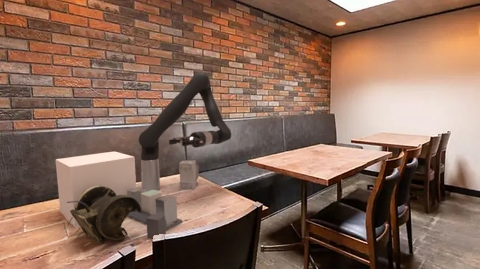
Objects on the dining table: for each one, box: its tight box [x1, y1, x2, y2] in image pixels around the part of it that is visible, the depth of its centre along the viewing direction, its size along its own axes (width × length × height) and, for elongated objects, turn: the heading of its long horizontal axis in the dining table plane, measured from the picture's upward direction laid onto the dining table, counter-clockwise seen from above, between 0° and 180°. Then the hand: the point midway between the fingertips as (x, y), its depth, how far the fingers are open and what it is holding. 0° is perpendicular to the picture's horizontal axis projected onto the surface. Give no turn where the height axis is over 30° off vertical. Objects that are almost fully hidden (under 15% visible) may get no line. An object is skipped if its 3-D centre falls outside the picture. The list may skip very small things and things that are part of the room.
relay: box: [146, 214, 167, 239], centre depth 96 cm, size 5×4×7 cm
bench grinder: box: [64, 186, 141, 248], centre depth 95 cm, size 20×22×20 cm
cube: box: [55, 151, 137, 228], centre depth 118 cm, size 25×21×24 cm
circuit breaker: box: [178, 159, 200, 191], centre depth 152 cm, size 8×14×15 cm, turn 174°
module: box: [141, 190, 163, 214], centre depth 109 cm, size 6×6×10 cm
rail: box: [127, 186, 183, 231], centre depth 109 cm, size 26×9×11 cm, turn 55°
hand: (175, 143), depth 118 cm, fingers open, 8 cm apart
